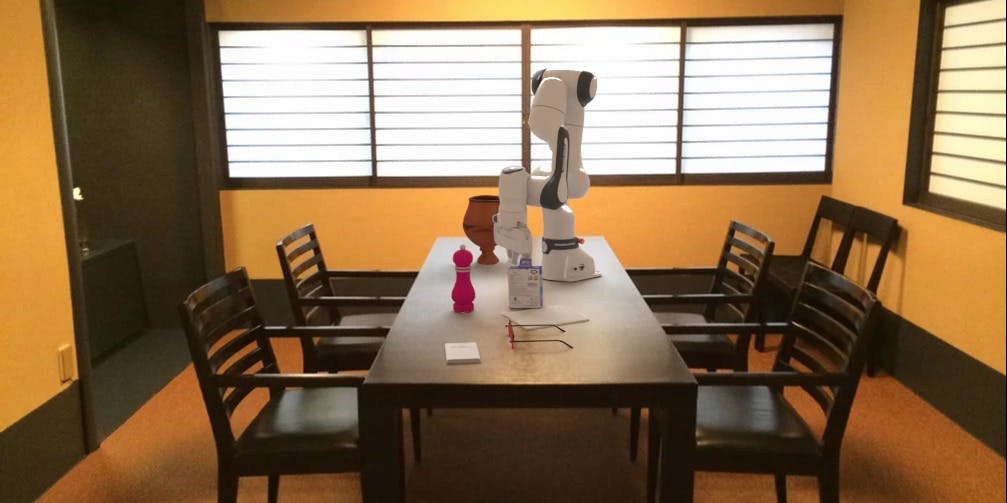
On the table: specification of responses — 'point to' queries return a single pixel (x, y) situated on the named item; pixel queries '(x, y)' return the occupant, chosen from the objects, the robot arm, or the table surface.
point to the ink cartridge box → (525, 285)
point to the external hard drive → (462, 352)
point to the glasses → (531, 340)
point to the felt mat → (544, 317)
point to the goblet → (482, 225)
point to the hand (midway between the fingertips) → (512, 263)
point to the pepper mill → (463, 281)
